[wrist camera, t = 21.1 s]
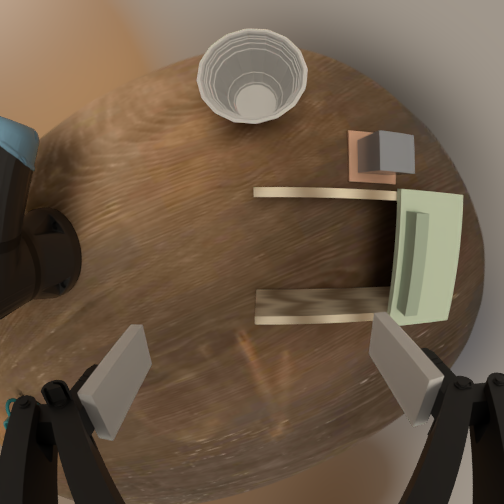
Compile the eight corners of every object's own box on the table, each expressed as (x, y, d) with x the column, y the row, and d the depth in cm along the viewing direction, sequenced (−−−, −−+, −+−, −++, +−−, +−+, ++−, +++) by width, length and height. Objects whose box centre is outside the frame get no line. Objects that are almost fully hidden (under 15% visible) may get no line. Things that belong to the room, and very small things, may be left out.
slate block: (357, 172, 37) (380, 170, 29) (357, 140, 36) (379, 130, 28) (387, 175, 37) (414, 173, 29) (387, 143, 36) (413, 135, 28)
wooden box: (256, 296, 42) (254, 324, 33) (255, 187, 38) (253, 187, 30) (411, 291, 41) (439, 314, 32) (419, 193, 37) (454, 196, 29)
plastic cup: (200, 90, 36) (177, 56, 24) (271, 57, 34) (274, 13, 22) (236, 155, 37) (225, 142, 26) (309, 121, 36) (328, 95, 24)
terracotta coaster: (348, 181, 38) (349, 181, 37) (347, 131, 36) (348, 130, 36) (393, 184, 37) (395, 184, 37) (392, 136, 36) (394, 135, 35)
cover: (385, 322, 32) (395, 335, 29) (397, 188, 29) (411, 189, 25) (443, 316, 32) (456, 327, 28) (458, 194, 28) (475, 196, 25)
